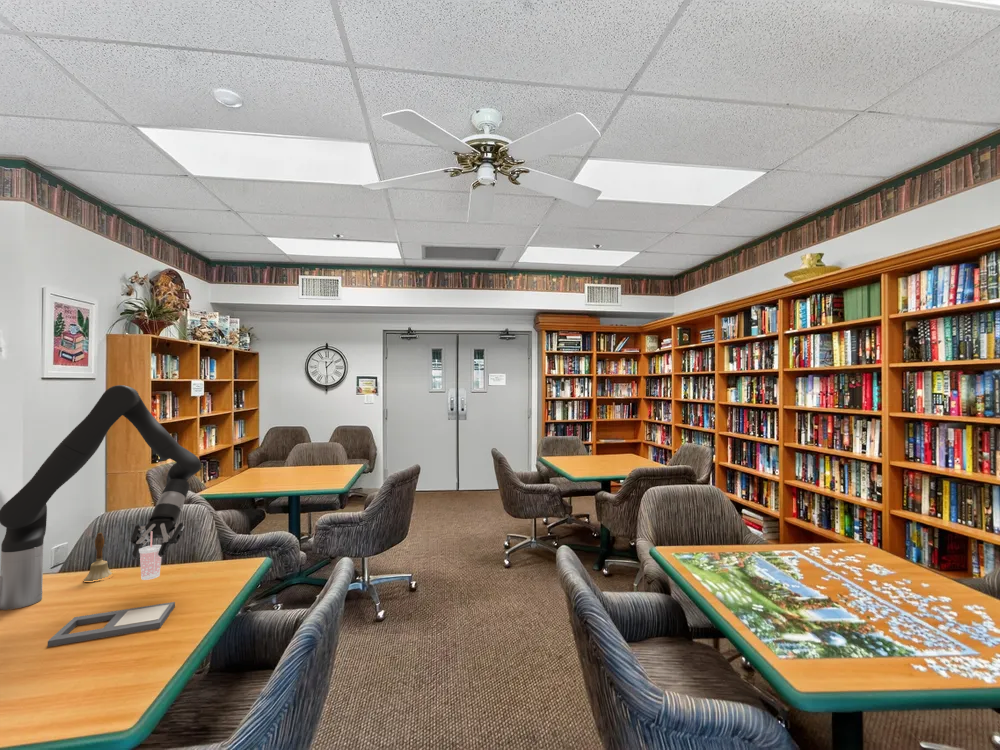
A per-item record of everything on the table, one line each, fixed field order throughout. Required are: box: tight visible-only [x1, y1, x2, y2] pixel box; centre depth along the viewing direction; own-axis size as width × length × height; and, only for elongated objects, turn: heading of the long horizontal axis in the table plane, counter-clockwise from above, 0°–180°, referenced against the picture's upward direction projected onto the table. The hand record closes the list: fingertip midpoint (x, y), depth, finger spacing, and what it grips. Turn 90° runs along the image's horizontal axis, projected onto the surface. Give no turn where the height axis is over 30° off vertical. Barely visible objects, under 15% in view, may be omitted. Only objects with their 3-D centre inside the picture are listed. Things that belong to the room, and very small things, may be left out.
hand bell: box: [83, 532, 113, 581], centre depth 165 cm, size 8×8×16 cm
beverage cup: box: [139, 531, 162, 581], centre depth 144 cm, size 6×6×14 cm
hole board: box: [47, 601, 176, 648], centre depth 129 cm, size 24×14×2 cm, turn 111°
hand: (148, 556), depth 143 cm, fingers closed on beverage cup, 6 cm apart
